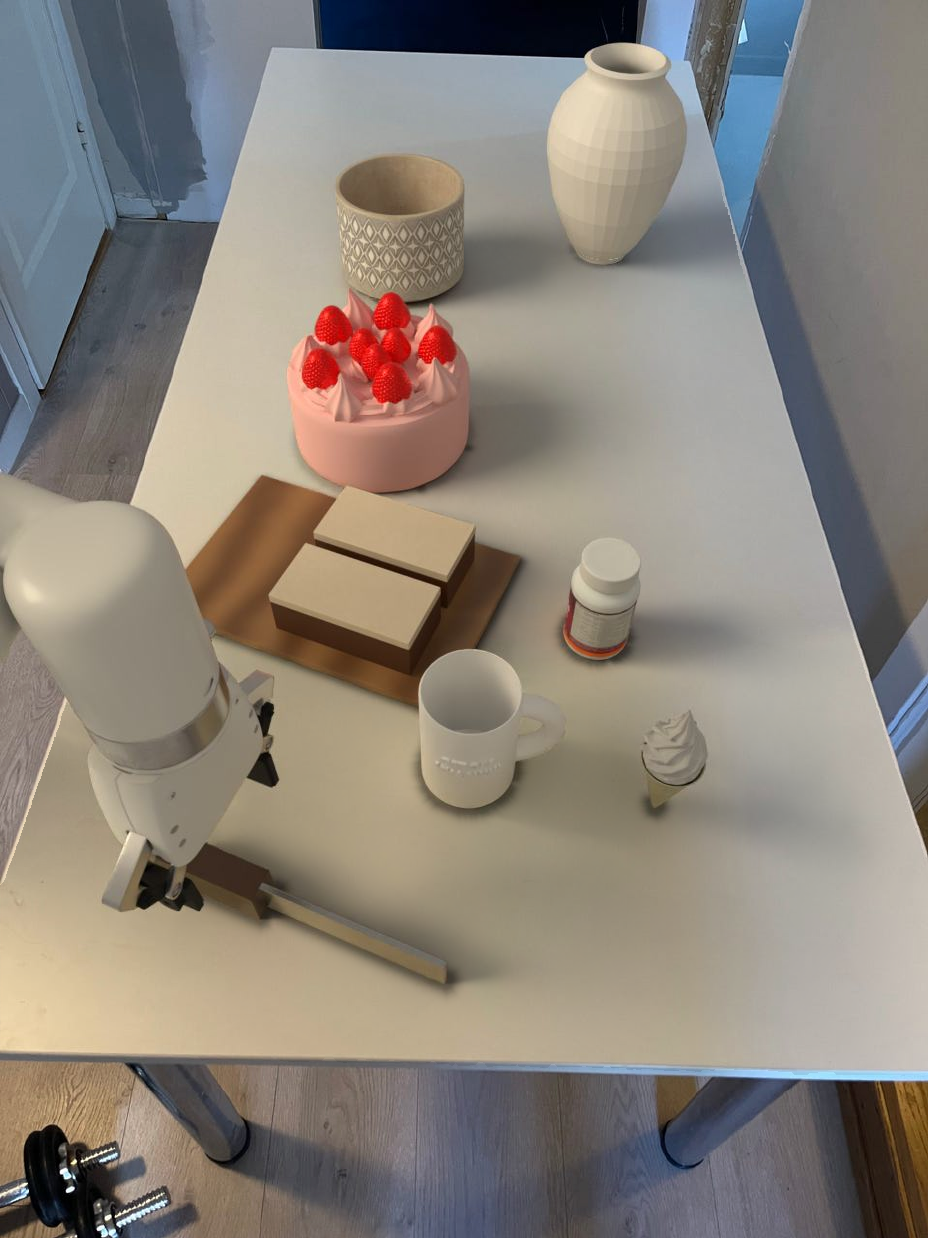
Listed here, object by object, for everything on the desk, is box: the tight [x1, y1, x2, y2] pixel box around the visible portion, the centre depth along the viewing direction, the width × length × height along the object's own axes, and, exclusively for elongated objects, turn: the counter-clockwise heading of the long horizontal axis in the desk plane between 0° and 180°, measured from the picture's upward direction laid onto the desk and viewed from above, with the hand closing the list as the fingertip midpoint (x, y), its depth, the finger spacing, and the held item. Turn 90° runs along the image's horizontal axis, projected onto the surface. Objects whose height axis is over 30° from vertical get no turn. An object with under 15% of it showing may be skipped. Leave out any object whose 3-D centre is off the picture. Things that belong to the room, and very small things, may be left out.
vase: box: [546, 42, 688, 266], centre depth 119 cm, size 18×18×25 cm
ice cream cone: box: [639, 709, 709, 809], centre depth 70 cm, size 5×5×15 cm
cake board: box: [185, 474, 520, 709], centre depth 90 cm, size 30×20×1 cm, turn 67°
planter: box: [334, 153, 465, 303], centre depth 120 cm, size 16×16×13 cm
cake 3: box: [269, 543, 441, 676], centre depth 84 cm, size 14×7×5 cm, turn 67°
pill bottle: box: [563, 537, 642, 661], centre depth 83 cm, size 6×6×11 cm
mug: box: [418, 648, 567, 809], centre depth 74 cm, size 8×12×12 cm
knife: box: [155, 842, 448, 985], centre depth 68 cm, size 24×3×4 cm, turn 67°
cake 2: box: [313, 485, 477, 609], centre depth 89 cm, size 14×7×5 cm, turn 67°
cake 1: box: [286, 287, 471, 494], centre depth 99 cm, size 20×20×14 cm
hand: (222, 835), depth 62 cm, fingers open, 9 cm apart
